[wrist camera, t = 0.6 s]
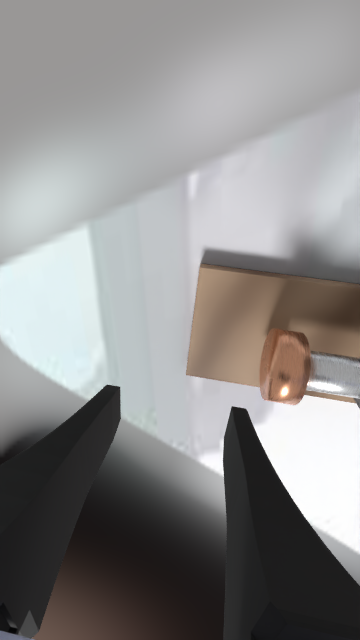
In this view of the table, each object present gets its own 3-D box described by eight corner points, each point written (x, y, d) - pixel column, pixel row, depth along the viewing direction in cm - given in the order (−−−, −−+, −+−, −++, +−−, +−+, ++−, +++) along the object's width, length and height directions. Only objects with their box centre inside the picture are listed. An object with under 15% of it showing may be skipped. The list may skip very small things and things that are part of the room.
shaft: (403, 335, 17) (458, 380, 13) (373, 389, 19) (413, 442, 15) (271, 316, 17) (285, 354, 13) (256, 370, 19) (265, 416, 15)
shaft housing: (516, 304, 17) (676, 369, 11) (439, 408, 21) (524, 497, 15) (200, 263, 18) (190, 300, 13) (187, 367, 23) (174, 432, 17)
